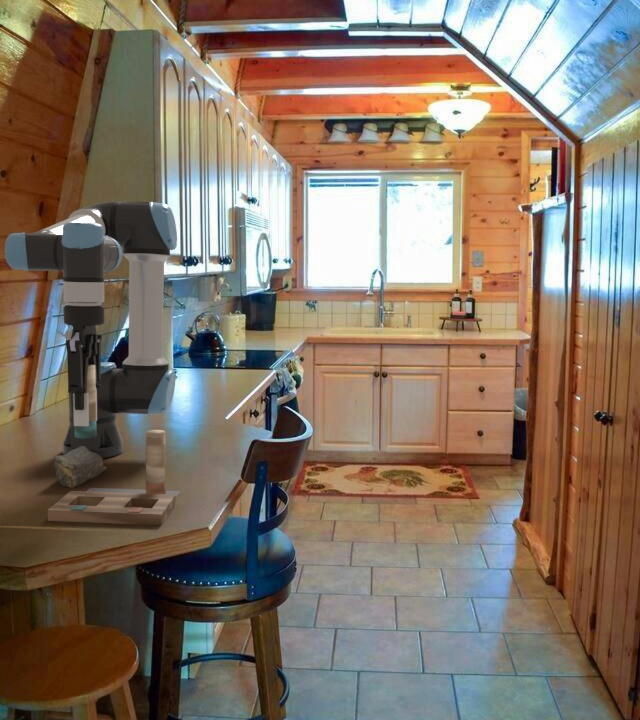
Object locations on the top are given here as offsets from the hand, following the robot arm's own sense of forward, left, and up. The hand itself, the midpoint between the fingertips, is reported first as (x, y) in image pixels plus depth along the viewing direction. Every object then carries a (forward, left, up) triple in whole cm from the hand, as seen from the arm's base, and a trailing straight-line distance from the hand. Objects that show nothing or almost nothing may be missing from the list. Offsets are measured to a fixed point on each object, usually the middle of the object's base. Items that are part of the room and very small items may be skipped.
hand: (85, 422), depth 146 cm
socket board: (0, +5, -18) cm, 19 cm away
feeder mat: (-11, +5, -18) cm, 22 cm away
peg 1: (0, 0, -3) cm, 3 cm away
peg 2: (-11, +11, -18) cm, 24 cm away
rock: (-22, -9, -19) cm, 30 cm away
